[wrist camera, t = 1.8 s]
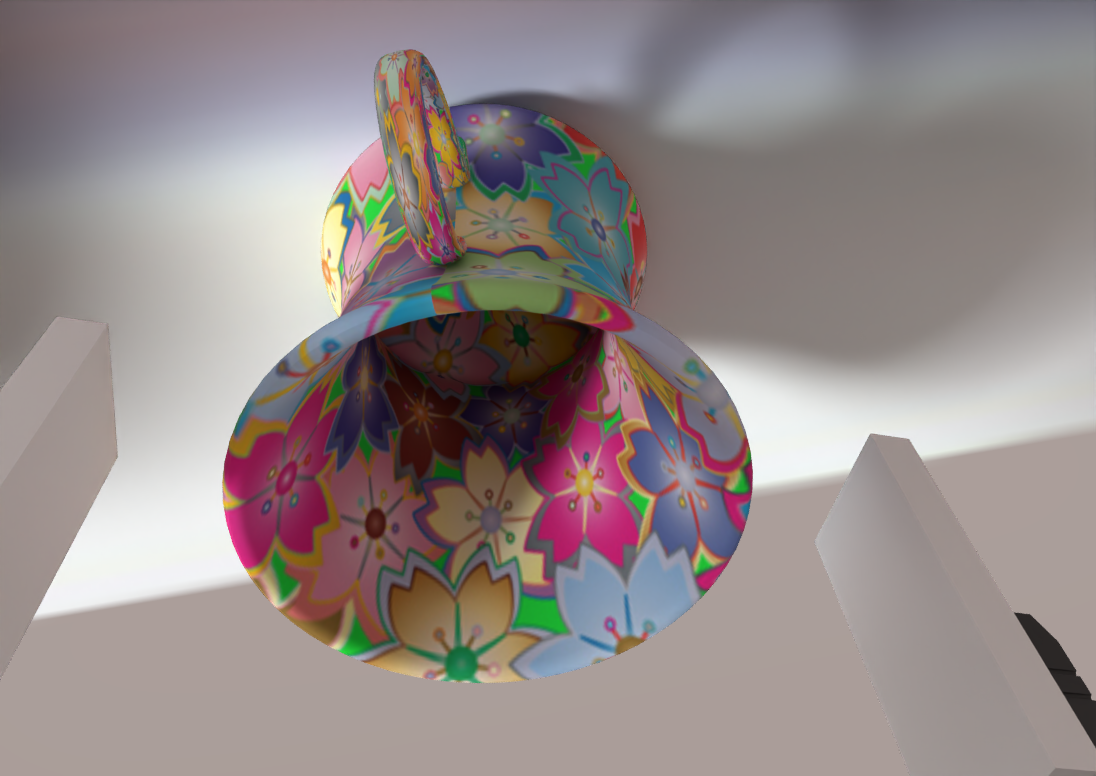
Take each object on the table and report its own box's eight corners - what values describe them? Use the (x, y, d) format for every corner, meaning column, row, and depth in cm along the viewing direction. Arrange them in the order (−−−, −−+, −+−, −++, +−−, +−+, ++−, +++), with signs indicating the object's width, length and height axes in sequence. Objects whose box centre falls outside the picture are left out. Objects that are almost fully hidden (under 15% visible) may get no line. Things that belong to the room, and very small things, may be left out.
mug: (669, 358, 27) (762, 646, 19) (366, 411, 28) (319, 717, 19) (623, -84, 20) (736, 50, 12) (217, -4, 21) (36, 182, 12)
